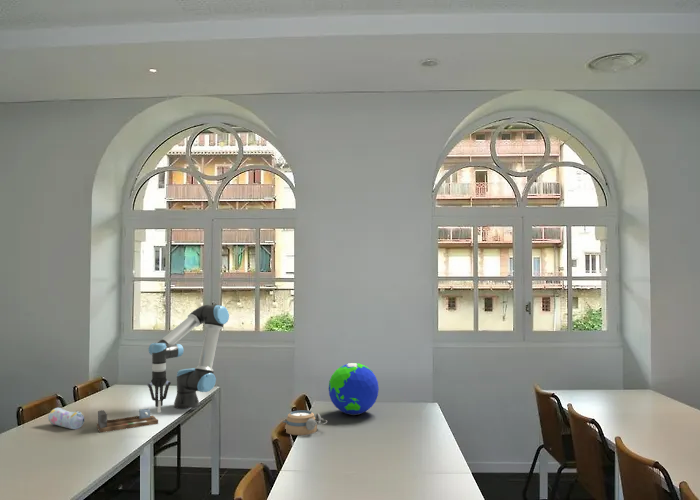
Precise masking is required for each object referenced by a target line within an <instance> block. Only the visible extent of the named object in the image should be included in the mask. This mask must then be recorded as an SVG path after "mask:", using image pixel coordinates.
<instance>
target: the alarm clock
mask: <svg viewBox="0 0 700 500" xmlns="http://www.w3.org/2000/svg"><path fill="white" fill-rule="evenodd" d="M322 421H324V423H321V422H322ZM282 423H285V425H284V430H285V429H286V432H285V433H286V434H288V435H292V436H306V435H312V434H314V433H316V432H317V431H318V425H319V426H321V425H322V426H323V425H325V424H327V423H328V420H326V419H324V417H321V414H320V413H319V412H318V413H316V415H315V414H314V413H313V411H309V410H299V409H298V410H294V411H290V412H289V413H288V414H287V418H286V420H284V421H282Z"/></svg>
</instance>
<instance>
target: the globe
mask: <svg viewBox="0 0 700 500" xmlns="http://www.w3.org/2000/svg"><path fill="white" fill-rule="evenodd" d="M328 395H329V397H330V401H331V403H332V404H333V405H334V407H335V408H336V409H338V410H339V411H340V412H343V413H344V414H346V415H350V416H356V415H360V414H363V413H366V412H368V411H369V410H370V409H371V408H372V407H373V406H374V404H375V403H376V401H377V399H378V396H379V381H378V379H377V376H376V375H375V373H374V372H373V370H371V369H370V368H369V367H368V366H366V365H364V364H361V363H356V362H351V363H350V362H348V363H346V364H343V365H340V366H339V367H338V368H337V369H336V370H335V371H334V372H333V373H332V374H331V377H330V379H329V382H328Z"/></svg>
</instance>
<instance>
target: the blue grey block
mask: <svg viewBox="0 0 700 500" xmlns="http://www.w3.org/2000/svg"><path fill="white" fill-rule="evenodd" d="M138 416H139V419H142V418H149V417H150V416H151V409H149V408H143V409H139V410H138Z"/></svg>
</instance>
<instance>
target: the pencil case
mask: <svg viewBox="0 0 700 500" xmlns="http://www.w3.org/2000/svg"><path fill="white" fill-rule="evenodd" d="M48 422H49V423H50V424H52V425H53V426H59V427H62V428H66V429H70V430H78V429H80V428H81V427H82V426H84V424H85V416H84V414H83V413H82V412H81V411H78V410H76V411H68V410H66V409H64V408H61V407H55V408H53V409H52V410H50V411H49V414H48Z"/></svg>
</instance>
